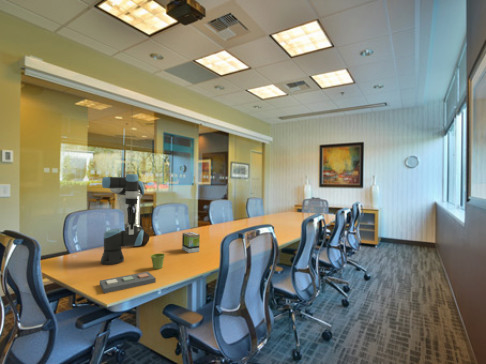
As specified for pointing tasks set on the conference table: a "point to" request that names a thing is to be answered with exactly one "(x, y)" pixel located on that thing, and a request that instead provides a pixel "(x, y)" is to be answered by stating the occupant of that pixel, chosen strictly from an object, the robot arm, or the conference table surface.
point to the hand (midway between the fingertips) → (131, 234)
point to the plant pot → (157, 260)
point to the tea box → (190, 242)
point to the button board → (127, 284)
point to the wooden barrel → (144, 234)
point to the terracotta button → (143, 275)
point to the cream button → (111, 282)
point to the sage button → (127, 278)
